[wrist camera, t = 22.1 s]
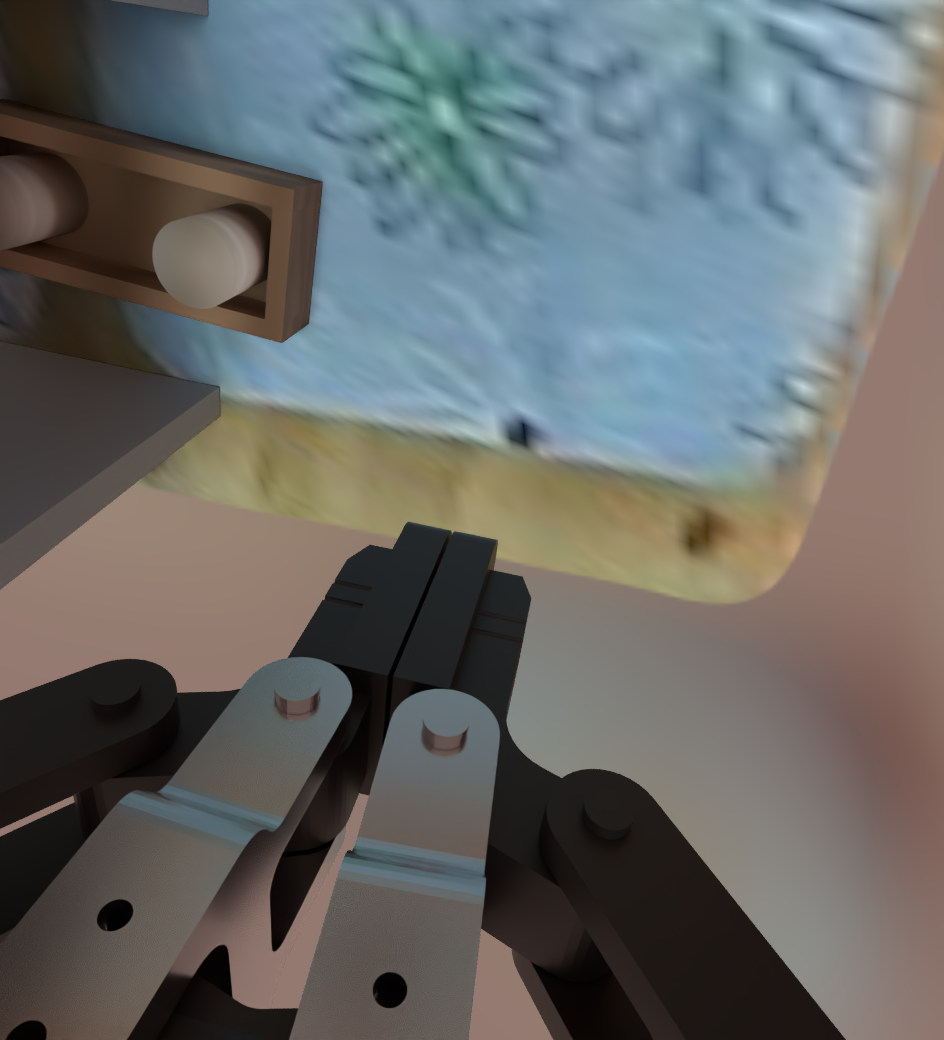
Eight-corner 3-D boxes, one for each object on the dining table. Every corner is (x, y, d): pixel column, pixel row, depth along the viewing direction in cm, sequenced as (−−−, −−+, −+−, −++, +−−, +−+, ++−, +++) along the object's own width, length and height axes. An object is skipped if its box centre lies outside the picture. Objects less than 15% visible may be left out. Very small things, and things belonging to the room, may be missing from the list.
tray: (322, 181, 31) (267, 198, 27) (308, 323, 34) (257, 360, 30) (3, 99, 32) (-104, 101, 28) (17, 245, 35) (-77, 269, 31)
